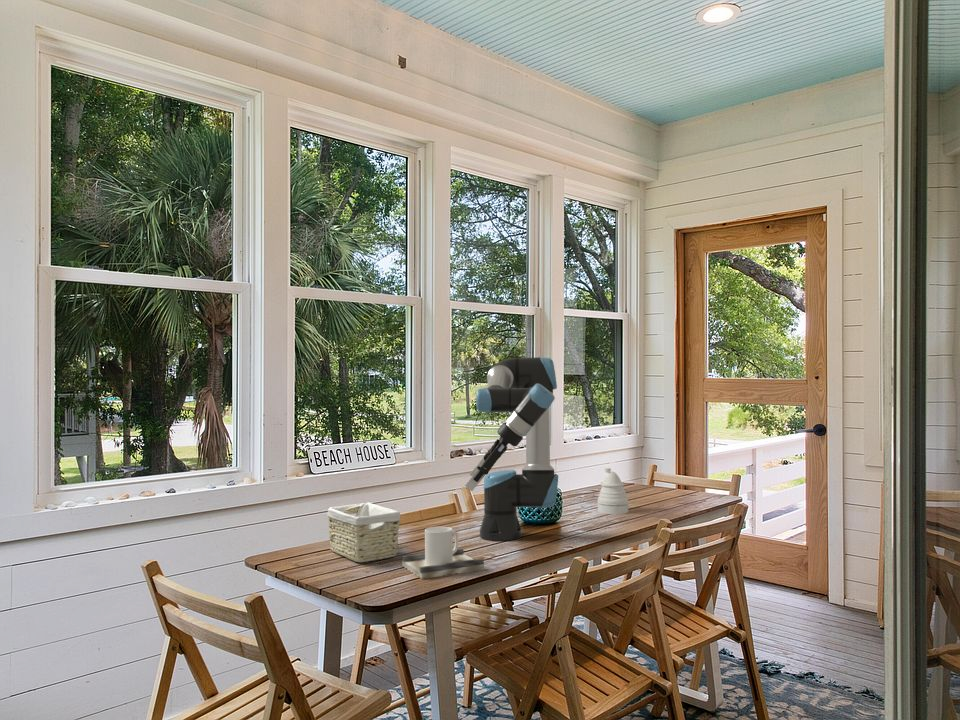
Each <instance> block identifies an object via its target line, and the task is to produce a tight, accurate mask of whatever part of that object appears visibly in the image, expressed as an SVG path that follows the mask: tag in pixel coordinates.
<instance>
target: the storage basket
mask: <svg viewBox="0 0 960 720" xmlns="http://www.w3.org/2000/svg"><path fill="white" fill-rule="evenodd" d="M352 514H353V515H352ZM354 514H356V515H354ZM326 516H327V517H328V527H329V528H328V532H329V533H328V534H329V540H330V541H329V547H330V551H331V552H333V553H334V552H335V554H338V555H340V556H342V557H345V558H347V559H349V560H350V561H353V562H357V563H365V562H370V561H371V562H372V561H373V562H374V561H376V560H379V561H380V560H383V559H390V558H394V557H396V556H397V554H398V544H399V532H400V531H399V529H400V521H401V519H402V518H401V512H400V511H398V510H395V509H391V508H388V507H385V506H382V505H378V504H374V503H372V502H363V503H354V504H347V505H345V504H344V505H340V506H339V505H338V506H330V507H329V508H328V510H327V513H326Z"/></svg>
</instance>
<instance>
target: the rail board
mask: <svg viewBox="0 0 960 720" xmlns="http://www.w3.org/2000/svg"><path fill="white" fill-rule="evenodd" d="M484 560H485V559H484V558H482V557H481V558H475V559H474V558H472V557H470V556H468V555H467V554H465V553H464V548H458V549H457V551H456V552H455V553H454V554H453V561H452V563H445V564H438V565H431V566H428V565H427V564H426V562H425V552H422V553H415V554H408V555H403V556H402V561H401V564H402V565H401V566H402V567H403V566H404V567H403V568H405V569H406V568H407V569H406V570H408V571H409V570H410V571H409V572H410V573H412V572H413V573H412V574H414V575H415V574H416V575H415V576H417V577H418V576H419V577H418V578H419V579H421V580H422V579H423V580H424V578H425V579H429V578H439V577H444V576H443V575H445V576H450V575H449V574H451V575H456V574H455V573H458V574H463V573H462V572H465V573H470V571H471V572H476V571H484V570H485V561H484ZM468 571H469V572H468Z"/></svg>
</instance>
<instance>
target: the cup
mask: <svg viewBox="0 0 960 720" xmlns="http://www.w3.org/2000/svg"><path fill="white" fill-rule="evenodd" d="M453 536H454V543H453ZM459 542H460V541H459V535H458V532H457V531H455V530H453V528H452V527H448V526H431V527H426V528H425V529H424V553H425V562H426V564H427V565H428V566H431V565H438V564H445V563H452V561H453V554H454V553H455V552H456V551H457V549H459ZM453 544H454V547H453Z"/></svg>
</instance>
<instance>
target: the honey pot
mask: <svg viewBox="0 0 960 720" xmlns="http://www.w3.org/2000/svg"><path fill="white" fill-rule="evenodd" d="M611 470H612V469H611V468H609V467H608V468H607V467H605V468H604V471H605V473H606V474H607V475H606V477H605V478H604V480H603V481H602V482H600V484H599V485H600V486H601V489H600V490H599V494H598V497H597V512H598V513H600V512H601V513H600V514H605V513H607V514H606V515H624V514H628V513H629V498H628V495H627V493H626V489H625V488H624V486H625V484H624V482H622V480H621V479H620V477H619V475H618V474H617V473H616V472H614V471H611Z"/></svg>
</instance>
